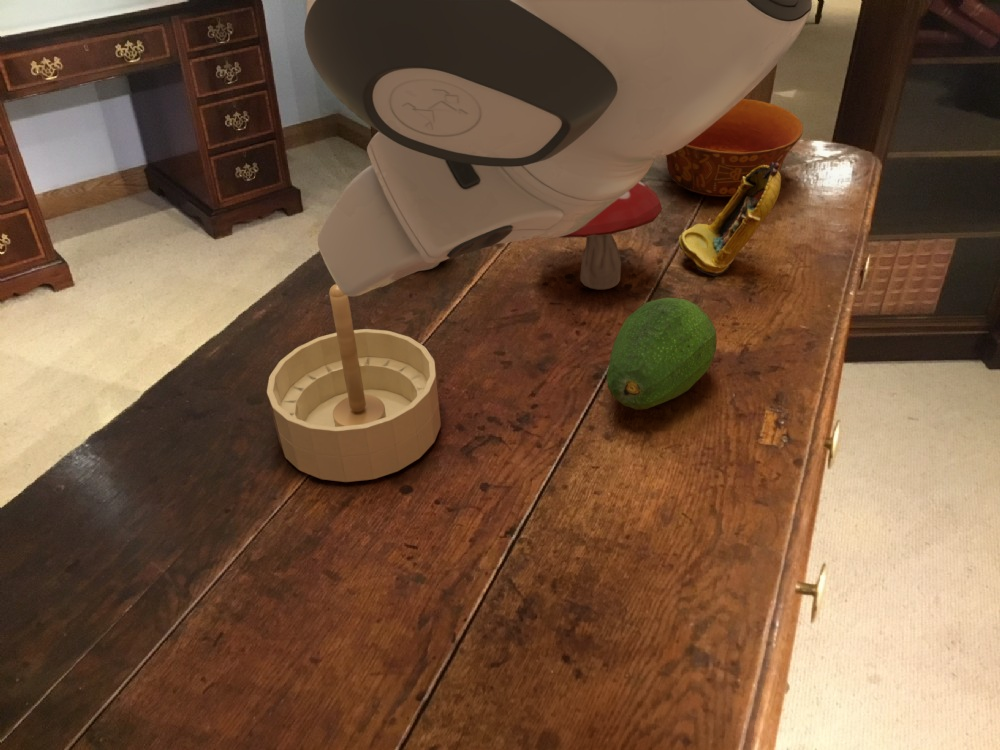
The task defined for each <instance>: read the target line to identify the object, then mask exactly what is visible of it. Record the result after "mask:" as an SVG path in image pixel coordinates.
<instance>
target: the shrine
mask: <svg viewBox="0 0 1000 750" xmlns="http://www.w3.org/2000/svg"><path fill="white" fill-rule="evenodd" d="M778 168H779V163H773V162H771V163H770V164H769V166H768V165H766V166H765V165H761V166H758V167H757V168H754V169H753V170H752V171H751V172H750V173H749V174H747V175H746V177H744V176H743V177H742V180H741V185H740V186H739V187H738V190H737V191H736V193H735V194H734V196H731V198H730V199H729V201H728V203H726V205H725V206H724V208H723V209H722V211H721V212H720V213H718V215H717V216H716V218H715V219H714V221H713V222H711V224H706V223H696V224H694V225H693V226H691V227H689V228H687V229H685V230H684V231H682V233H681V234H680V235H678V244H679V248H680V250H681V251H682V252H683V254H684V256H685V257H686V258H688V259H689V260H690V261H692V262H694V264H695V265H696V269H697V270H698V271H700V272H702V273H704V274H706V275H709V276H713V277H718V276H720V275H722V274H723V273H726V272H727V271H729V268H730V266H731V264H732V262H733V261H734V260H735V258H736V257H737V256H738V254H739V253H740V252H741V251H742V249H743V248H744V247H745V245H746V244H747V243H749V241H750V240H751V238H752V237H753V236H754V234H755V232H757V230H758V229H759V227H760V226H761V225H762V223H763V222H764V221H765V219H766V218H767V217H768V215H770V212H771V211H772V210H773V208H774V206H775V204H776V202H777V201H778V197H779V195H780V192H781V191H780V190H781V185H782V176H781V172H780V173H779V172H778Z"/></svg>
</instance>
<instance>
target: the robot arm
mask: <svg viewBox="0 0 1000 750" xmlns="http://www.w3.org/2000/svg"><path fill="white" fill-rule="evenodd" d="M812 7H813V0H306V17H305V18H306V19H305V22H304V24H305V25H304V43H305V48H306V51H307V54H308V57H309V59H310V61H311V63H312V65H313V67H314V70H316V72H317V73H318V75H319V77H320V78H321V80H322V81H323V82H324V84H325V85H326V86H327V88H328V89H329V90H330V91H331V92H332V94H333V95H334V96H335V97H336V98H337V99H338V100H339V102H341V103H342V104H343V105H344V106H345V107H346V108H347V109H348V110H349V111H351V112H352V113H353V114H354V115H355V116H356V117H358V118H359V119H360V120H361V121H363V122H364V123H366V125H368V126H369V127H371V128H373V129H374V130H376V131H377V132H376V133H375V134H374V135H373V136H372V138H371V139H370V141H369V143H368V145H367V146H366V152H367V155H368V158H369V161H370V163H371V165H369V166H367V167H366V168H365V169H363V170H362V171H360V172H359V173H358V174H357V175H356V176H355V177H354V178H353V179H351V181H350V182H349V183H348V184H347V185H346V187H345V188H344V190H343V191H342V192H341V193H340V194H339V197H338V198H337V200H336V201H335V203H334V204H333V206H332V207H331V208H330V209H331V210H330V211H329V212H328V215H327V216H326V218H325V219H324V222H323V224H322V226H321V228H320V230H319V233H318V235H317V247H318V250H319V253H320V255H321V258H322V259H323V263H324V264H325V266H326V269H327V270H328V272H329V274H330V276H331V278H332V279H333V281H334V283H335V284H337V286H338V287H339V289H340V290H341V291H342V292H343V293H344V294H345V295H347V296H348V297H360V296H362V295H365V294H367V293H368V292H371V291H372V290H375V289H378V288H384V287H386V286H388V285H391V284H393V283H396V282H397V281H400V280H402V279H403V278H405V277H408V276H410V275H412V274H414V273H417V272H421V271H420V270H422V269H425V268H427V267H429V266H432V265H434V264H437V263H439V262H440V263H442V262H444V261H447V260H448V259H453V258H456V257H459V256H462V255H466V254H468V253H470V252H474V251H477V250H478V251H479V250H482V249H485V248H489V247H492V246H495V245H499V244H507V243H515V242H523V241H529V240H533V239H536V238H538V239H555V238H562V237H561V236H565V235H568V234H571V233H573V232H575V231H577V230H579V229H580V228H582V227H583V226H584V225H586V224H587V223H588V222H589V221H591V220H592V219H593V218H595V217H596V216H597V215H598V214H600V213H601V212H602V211H603V210H605V209H606V208H607V207H608V206H610V205H611V204H612V203H613V202H615V201H616V200H617V199H618V198H620V197H621V196H622V195H624V194H625V193H626V192H628V191H629V190H630V189H631V188H633V187H634V186H635V185H636V184H637V183H638V182H639V181H640V182H641V180H642V179H644V177H645V176H646V175H647V173H648V172H649V170H650V169H651V167H652V166H653V165H654V162H655V160H656V159H658V158H662V157H666V155H668V154H671V153H673V152H675V151H677V150H679V149H681V148H683V147H684V146H686V145H687V144H688V143H690V142H691V141H692V140H694V139H695V138H696V137H698V136H699V135H700V134H701V133H703V132H704V131H705V130H706V129H708V128H709V127H710V126H711V125H713V124H714V123H715V122H716V121H717V120H719V119H720V118H721V117H722V116H724V115H725V114H726V113H727V112H728V111H729V110H731V109H732V108H733V107H734V106H735V105H736V104H737V103H739V102H740V101H741V100H742V99H745V97H746V96H748V95H749V93H751V92H752V91H753V90H754V89H755V88H756V87H757V86H758V85H759V84H760V83H761V82H762V81H763V80H764V79H765V78H766V77H767V76H768V75H769V74H770V73H771V72H772V70H774V68H775V67H776V66H777V65H778V63H780V61H781V60H782V59H783V57H784V56H785V55H786V54H787V52H788V51H789V50H790V48H791V47H792V46H793V44H794V43H795V42H796V40H797V38H798V37H799V35H800V34H801V32H802V30H803V28H804V27H805V25H806V22H807V21H808V19H809V17H810V14H811V10H812ZM440 263H439V264H440Z"/></svg>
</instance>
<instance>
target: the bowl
mask: <svg viewBox="0 0 1000 750" xmlns="http://www.w3.org/2000/svg"><path fill="white" fill-rule="evenodd" d="M803 133H804V125H803V123H802V121H801V119H800V118H798V117H797V115H796V114H794V113H793V112H792V111H790V110H787V109H786V108H784V107H781V106H780V105H777V104H774V103H770V102H766V101H761V100H758V99H747V98H743V99H742V100H741V101H740V102H739V103H737V104H736V105H735V106H734V107H733V108H732V109H731V110H729V111H728V112H727V113H726V114H725V115H724V116H722V117H721V118H720V119H719V120H717V121H716V122H715V123H714V124H713V125H711V126H710V127H709V128H708V129H706V130H705V131H704V132H703V133H701V134H700V135H699V136H698V137H696V138H695V139H694V140H692V141H691V142H690V143H688V144H687V145H686V146H684V147H683V148H681V149H679V150H677V151H675V152H673V153H671V154H668V155H665V158H666V164H667V170H668V173H669V175H670V177H671V179H672V180H673V181H674V182H675V183H676V184H677V185H678V186H679V187H682V188H684V189H686V190H688V191H690V192H693V193H697V194H701V195H704V196H711V197H723V198H724V197H725V198H730V197H731V198H732V197H733V196H734V194H735V193H736V191H737V190H738V187H739V186H740V185H741V180H742V177H743V176H744V177H746V175H747V174H749V173H750V172H751V171H752V170H753V169H754V168H757V167H758V166H761V165H765V166H766V165H768V166H769V164H770V163H771V162H773V163H779V168H778V172H779V173H780V174H781V170H782V166H783V164H784V161H785V159H786V158H787V155H788V154H789V153H790V151H791V150H792V149H793V147H794V146H795V145H796V144H797V143H798V141H800V139H801V137H802V135H803Z"/></svg>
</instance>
